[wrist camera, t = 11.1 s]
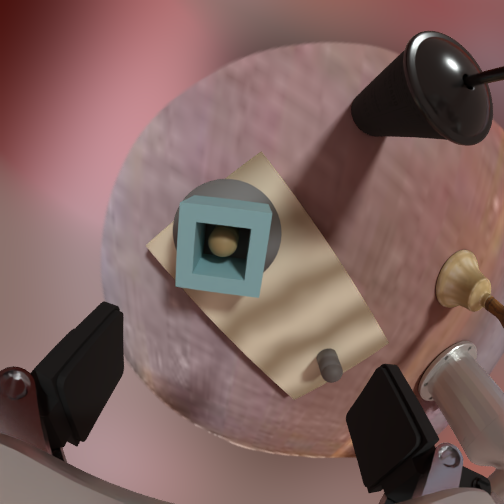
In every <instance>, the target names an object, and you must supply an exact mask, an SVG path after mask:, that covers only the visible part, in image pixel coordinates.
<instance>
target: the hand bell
mask: <svg viewBox="0 0 504 504" xmlns="http://www.w3.org/2000/svg"><path fill="white" fill-rule="evenodd" d="M490 293H491V284H490V281H489V280H488V279H487V278H486V277H485V276H484V275H483V274H482V273H481V272H480V271H479V268H478V262H477V260H476V258H475V256H474V254H473V253H472V252H470V251H468V250H461V251H458V252H456V253H455V254H453V255H452V256H451V257H450V258H449V259H448V260H447V261H446V263H445V264H444V266H443V267H442V269H441V271H440V274H439V276H438V279H437V284H436V296H437V299H438V301H439V303H440V304H441V305H442V306H444V307H456V306H458V305H460V306H463V307H465V308H467V309H469V310H470V311H473V312H475V311H478V310H480V309H481V308H482V307H484V308H485V309H486V310H487V311H489V312H490V313H492V314H493V315H494V316H496V317H497V318H498V319H499V321H500V322H501V324H502V326H503V328H504V306H503V305H502V304H501V303H499V302H498V301H497V300H496V299H495V298H494V297H492V296H491V295H490Z"/></svg>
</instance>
